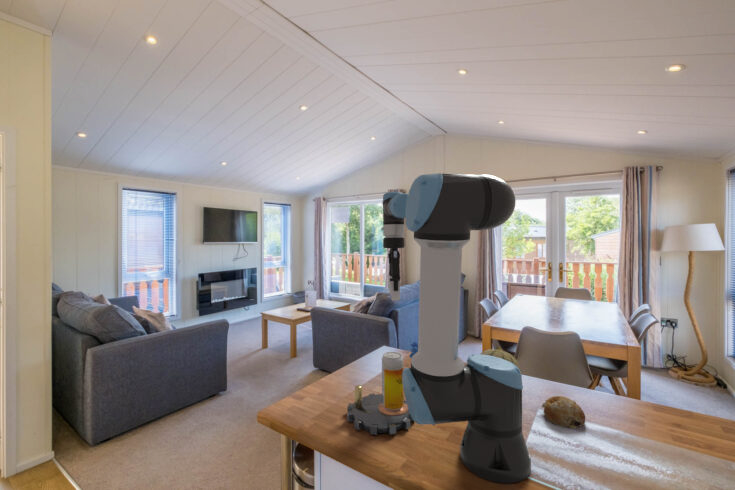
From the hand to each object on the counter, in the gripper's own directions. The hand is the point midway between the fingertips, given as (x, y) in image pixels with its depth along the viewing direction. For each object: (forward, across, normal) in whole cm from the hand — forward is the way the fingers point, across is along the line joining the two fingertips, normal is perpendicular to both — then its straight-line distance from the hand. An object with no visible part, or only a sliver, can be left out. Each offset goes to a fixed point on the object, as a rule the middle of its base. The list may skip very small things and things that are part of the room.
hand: (394, 297), depth 119 cm
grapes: (+31, -11, +10) cm, 34 cm away
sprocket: (+31, +23, -6) cm, 39 cm away
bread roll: (+31, +24, +46) cm, 60 cm away
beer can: (+28, +23, -2) cm, 36 cm away
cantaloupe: (+31, +8, +33) cm, 46 cm away
